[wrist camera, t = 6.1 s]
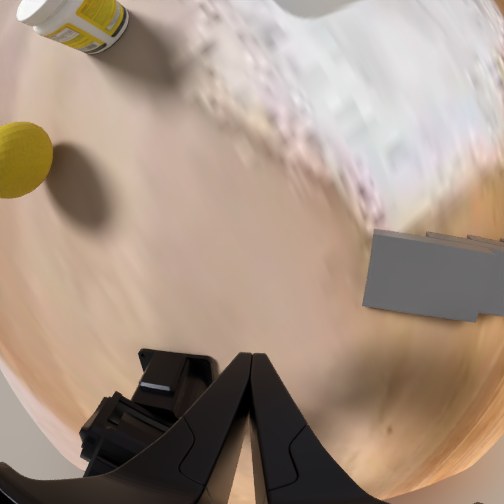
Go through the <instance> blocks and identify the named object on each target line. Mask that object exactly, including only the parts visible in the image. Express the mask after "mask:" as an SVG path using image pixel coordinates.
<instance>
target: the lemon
mask: <svg viewBox="0 0 504 504" xmlns="http://www.w3.org/2000/svg"><path fill="white" fill-rule="evenodd" d="M52 160H53V147H52V143H51V140H50V138H49V136H48V134H47V133H46V132H45V131H44V130H43V129H42V128H41V127H39V126H37V125H35V124H33V123H30V122H14V123H9V124H6V125H3V126H1V127H0V198H17V197H20V196H23V195H25V194H27V193H30V192H31V191H33V190H34V189H36V188H37V187H38V186H39V185H40V184H41V183H42V182H43V181H44V179H45V178H46V176H47V175H48V173H49V170H50V168H51V164H52Z"/></svg>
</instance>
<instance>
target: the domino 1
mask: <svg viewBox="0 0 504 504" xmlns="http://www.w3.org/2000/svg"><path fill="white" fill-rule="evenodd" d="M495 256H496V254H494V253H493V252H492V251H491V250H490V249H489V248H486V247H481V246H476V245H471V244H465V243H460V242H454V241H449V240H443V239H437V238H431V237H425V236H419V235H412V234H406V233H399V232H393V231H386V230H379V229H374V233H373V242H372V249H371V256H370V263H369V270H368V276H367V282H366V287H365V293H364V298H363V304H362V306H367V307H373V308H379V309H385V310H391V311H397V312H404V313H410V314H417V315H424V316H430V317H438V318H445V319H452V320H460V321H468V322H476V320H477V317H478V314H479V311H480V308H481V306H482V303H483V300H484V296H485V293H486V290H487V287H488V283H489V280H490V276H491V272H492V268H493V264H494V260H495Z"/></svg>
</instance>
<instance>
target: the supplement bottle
mask: <svg viewBox="0 0 504 504" xmlns="http://www.w3.org/2000/svg"><path fill="white" fill-rule="evenodd" d="M17 20H18V21H20V22H22V23H25V24H27V25H29V26H33V28H34V30H35V32H36V33H37V34H39V35H41V36H44V37H46V38H49V39H52V40H54V41H57V42H60V43H62V44H64V45H67V46H69V47H72V48H74V49H77V50H79V51H82V52H84V53H87V54H95V53H99V52H101V51H103V50H105V49H107V48H108V47H110V46H111V45H112V44H113V43H114V42H116V41H117V39H118V38H119V37H120V36H121V35H122V33H123V32H124V30H125V29H126V27H127V24H128V20H129V15H128V12H127V10H126V9H125V8H124V7H123V6H122V5H121V4H120V3H119V2H117V1H116V0H22V2H21V4H20V6H19V8H18V11H17Z"/></svg>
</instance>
